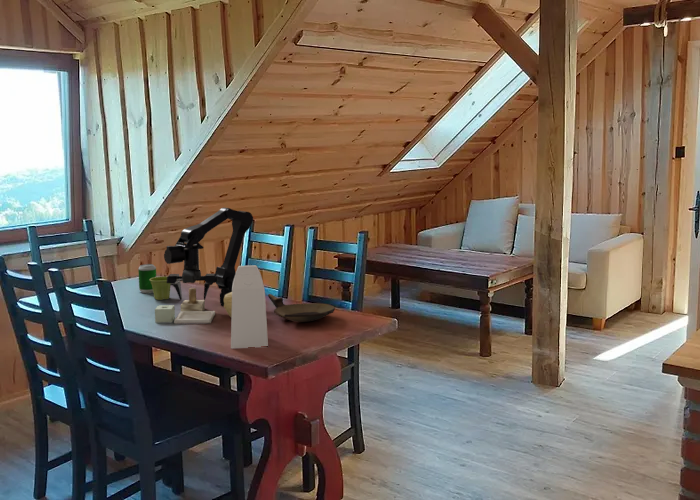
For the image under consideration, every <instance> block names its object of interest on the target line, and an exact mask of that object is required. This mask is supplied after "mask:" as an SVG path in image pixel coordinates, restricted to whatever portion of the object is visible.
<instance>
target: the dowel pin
mask: <svg viewBox="0 0 700 500" xmlns="http://www.w3.org/2000/svg"><path fill="white" fill-rule="evenodd" d="M188 300H189V304H197V303H196V300H197V287H195V288H194V287H190V288H188Z"/></svg>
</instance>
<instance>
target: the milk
mask: <svg viewBox="0 0 700 500" xmlns="http://www.w3.org/2000/svg"><path fill="white" fill-rule="evenodd" d="M235 272H236V274H235V277H234V281H233V285H232V318H231V321H230V322H231V324H230V325H231V326H230V332H231V333H230V349H233V350H234V349H249V348H248V347H255V348H262V347H261V346H268V347H269V341H268V324H267V323H268V322H267V305H266V290H265V285H264V281H263V276H262V274H261V272H260V270H259V268H258V266H257V265H255V264H254V265H238V267H237V269H236V270H235Z"/></svg>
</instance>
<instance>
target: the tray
mask: <svg viewBox="0 0 700 500" xmlns="http://www.w3.org/2000/svg"><path fill="white" fill-rule="evenodd" d="M215 316H216V311H215V310H204V311H181V310H180V312H179V313H178V314H177V316H175V319H174V320H173V321H174V325H182V324H183V325H187V324H188V325H191V324H192V325H194V324H196V325H199V324H202V325H203V324H205V325H206V324H212V321H213V320H214V318H215Z"/></svg>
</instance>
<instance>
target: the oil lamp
mask: <svg viewBox="0 0 700 500" xmlns="http://www.w3.org/2000/svg"><path fill="white" fill-rule="evenodd" d="M267 297H268V299H269V300H270V301H271V303H272V304H273V305H274V307H275V308H274V310H273V313H274V314H275V315H276V316H278V317H280V318H283V319H284V320H289V321H292V322H296V323H306V322H307V323H308V322H314V321H317V320H319V319H322V318H324V317H326V316H329V315H330V314H333V313H334V311H335V310H336V307H335V306H334V305H331V304H328V303H322V302H321V303H319V302H317V303H315V302H313V303H312V302H310V303H292V304H285V303H284V299H283V297H276V296H274V295H273V294H271V293H268V294H267Z"/></svg>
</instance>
